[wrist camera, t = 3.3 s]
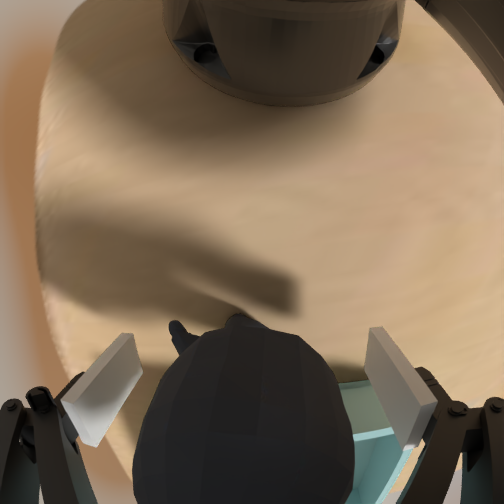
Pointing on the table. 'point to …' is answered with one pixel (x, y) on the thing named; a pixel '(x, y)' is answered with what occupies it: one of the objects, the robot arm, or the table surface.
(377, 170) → the table surface
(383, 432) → the bin
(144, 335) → the table surface
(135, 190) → the table surface
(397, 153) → the table surface
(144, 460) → the toy
